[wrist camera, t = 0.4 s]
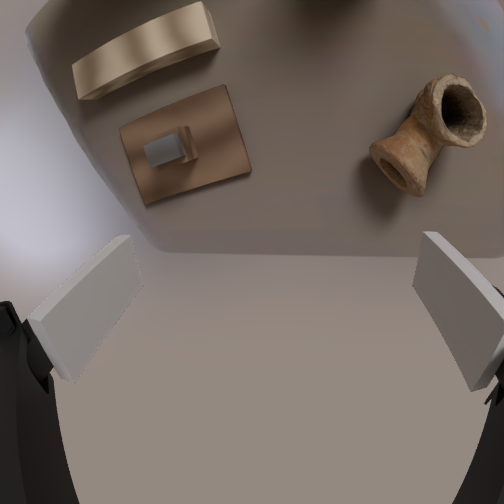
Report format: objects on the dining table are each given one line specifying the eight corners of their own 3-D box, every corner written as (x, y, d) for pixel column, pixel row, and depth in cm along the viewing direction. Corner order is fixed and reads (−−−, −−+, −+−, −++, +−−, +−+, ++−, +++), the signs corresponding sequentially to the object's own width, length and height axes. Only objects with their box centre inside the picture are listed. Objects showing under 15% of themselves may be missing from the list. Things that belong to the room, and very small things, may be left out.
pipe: (355, 151, 35) (378, 160, 26) (417, 68, 28) (453, 56, 19) (402, 193, 36) (433, 214, 27) (460, 112, 30) (501, 115, 21)
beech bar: (97, 100, 35) (78, 99, 30) (91, 68, 33) (71, 65, 28) (220, 48, 31) (211, 38, 26) (210, 13, 29) (201, 1, 24)
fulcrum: (123, 128, 36) (94, 131, 30) (225, 85, 33) (212, 76, 26) (148, 202, 41) (124, 218, 34) (252, 170, 37) (244, 180, 31)
